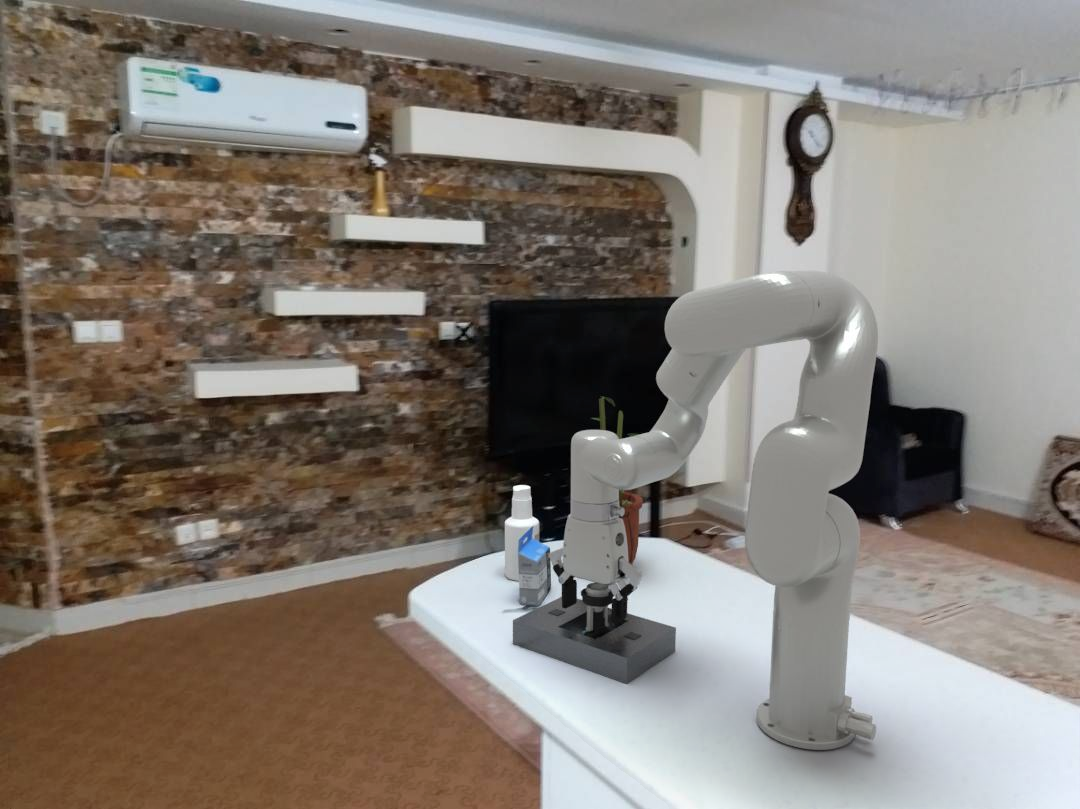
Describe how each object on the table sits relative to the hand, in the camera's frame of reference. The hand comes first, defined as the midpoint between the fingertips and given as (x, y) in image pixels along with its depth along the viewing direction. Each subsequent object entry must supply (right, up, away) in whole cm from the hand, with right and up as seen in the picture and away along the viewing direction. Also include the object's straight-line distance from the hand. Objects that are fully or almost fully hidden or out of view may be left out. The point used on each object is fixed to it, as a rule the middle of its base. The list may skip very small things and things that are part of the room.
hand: (593, 613), depth 139 cm
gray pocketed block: (0, -6, +1) cm, 6 cm away
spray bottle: (-12, -1, +33) cm, 35 cm away
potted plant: (+8, 0, +35) cm, 36 cm away
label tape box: (-9, -3, +22) cm, 24 cm away
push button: (0, -6, +1) cm, 6 cm away
